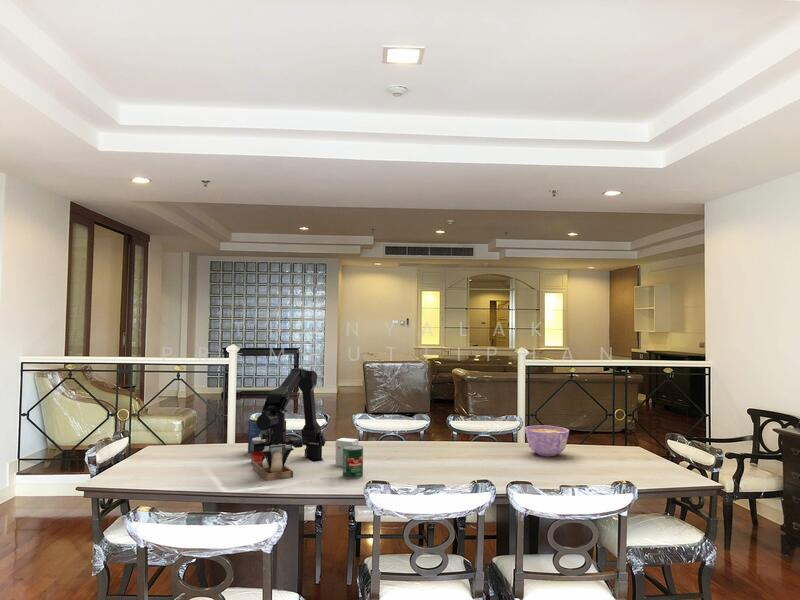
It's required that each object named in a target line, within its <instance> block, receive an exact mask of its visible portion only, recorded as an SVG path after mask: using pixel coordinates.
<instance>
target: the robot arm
mask: <svg viewBox="0 0 800 600" xmlns="http://www.w3.org/2000/svg"><path fill="white" fill-rule="evenodd" d="M317 384H318V374H317V372H316V371H315V370H308V369H305V368H301V367H300V368H299V367H293V368H291V369H290V372H289V374H288V375H287V376H286V378H285V379H284V381H283V382H282V383H281V384H280V386H278V387H277V388H274V389H272V391H270V392H269V393H268V395H267V397H266V399H265V402H264V404H263V407H262V409H261V414H260V415H258V417H256V418H257V420H256V424H257V427H258V428H259V429H260V430H265V431H261V434H260V437H261V440H263V439H265V442H269V443H263V442H262V441H254V442H251V444H250V449H251V450H252V451H253V452H259V451H261V452H262V453H264V455H265V457H266V460H267V463H268V467H269V469H271V451H270V450H269V448H271V447H282V446H284V447H282V455H283V463H282V467H284V465H286V462H287V459H288V457H289V456H290V454H291V452H292V451H294V448H295V449H298V448H299V449H300V448H303V446H305V448H304V458H305V459H307V460H308V461H310V462H317V461H323V460H324V458H323V455H322V454H323V447H325V445H326V441H327V440H326V438H325V435H324V433H323V431H322V427H321V426H320V424H319V423H318V422H317V412H316V401H315V391H314V390H315V388H316V386H317ZM296 387H297V388H299V390H300V392H301V395H302V405H303V406H302V407H303V416H304V417H303V418H304V426H303V427H302V429H301V431H300V432H301V438H300V437H291V438H290V437H289V438H288V439H287V440H286V441H285V440H284V439H285V430H286V431H287V428H286V429H285V420H286V413H287V412H288V410H287V406H288V404H289V403H290V400H291V399H290V395H291V393H292V392H293V391H294V390H295V388H296ZM267 429H268V432H266V430H267ZM274 444H275V445H274Z"/></svg>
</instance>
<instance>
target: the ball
mask: <svg viewBox="0 0 800 600" xmlns="http://www.w3.org/2000/svg"><path fill="white" fill-rule="evenodd" d="M262 465H263V468H264V467H268V463H267V460H266V458H265V459H264V460H263V463H262Z"/></svg>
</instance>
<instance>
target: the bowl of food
mask: <svg viewBox="0 0 800 600" xmlns="http://www.w3.org/2000/svg"><path fill="white" fill-rule="evenodd" d="M524 432H525V435H526V436H525V437H526V441H527V444H528V447H529V448H530V450H531V451H533V452H534V453H537V455H538V456H542V457H555V456H557V455H558V454H560V453H562V452H564V450H566V446H567V442H568V439H569V434H570V429H568V428H565V427H562V426H557V425H544V424H543V425H540V424H539V425H528V426H524Z"/></svg>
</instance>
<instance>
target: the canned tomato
mask: <svg viewBox="0 0 800 600" xmlns="http://www.w3.org/2000/svg"><path fill="white" fill-rule="evenodd" d="M362 477H364V446H362V445H359V444H358V445H349V446H344V447H343V466H342V478H345V479H353V480H354V479H355V480H357V479H361V478H362Z"/></svg>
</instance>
